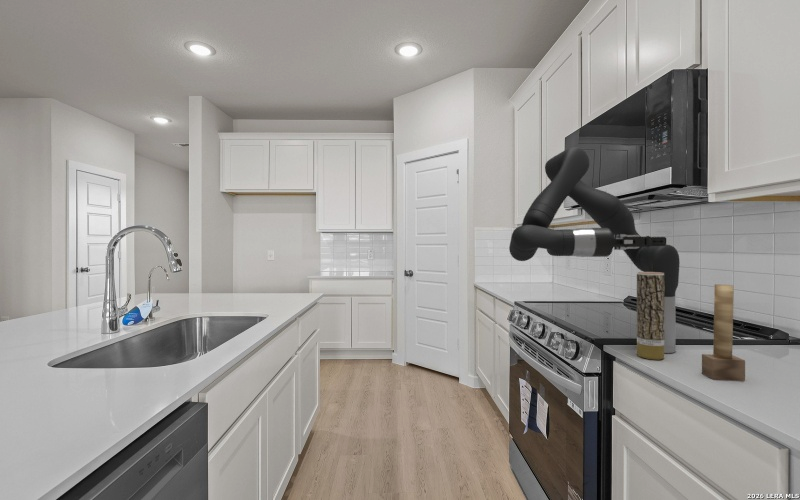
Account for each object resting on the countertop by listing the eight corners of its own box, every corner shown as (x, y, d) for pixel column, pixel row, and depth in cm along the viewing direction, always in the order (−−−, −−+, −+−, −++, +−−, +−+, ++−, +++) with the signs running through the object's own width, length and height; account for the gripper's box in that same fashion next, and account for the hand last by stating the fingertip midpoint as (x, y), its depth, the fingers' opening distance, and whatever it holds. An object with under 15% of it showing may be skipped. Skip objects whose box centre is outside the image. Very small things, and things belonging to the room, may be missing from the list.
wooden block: (712, 379, 94) (712, 359, 94) (701, 373, 98) (701, 354, 98) (745, 380, 93) (745, 360, 93) (732, 374, 97) (732, 355, 97)
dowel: (710, 354, 97) (711, 284, 97) (725, 355, 97) (727, 284, 97) (719, 358, 94) (720, 285, 94) (735, 359, 93) (737, 286, 93)
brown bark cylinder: (668, 361, 109) (668, 273, 108) (642, 359, 110) (642, 273, 110) (657, 354, 115) (657, 271, 115) (633, 353, 117) (632, 271, 116)
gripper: (599, 226, 93) (672, 225, 90) (580, 229, 107) (642, 228, 104) (599, 257, 93) (672, 257, 90) (580, 256, 107) (642, 255, 104)
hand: (656, 241), depth 97 cm, fingers open, 8 cm apart
